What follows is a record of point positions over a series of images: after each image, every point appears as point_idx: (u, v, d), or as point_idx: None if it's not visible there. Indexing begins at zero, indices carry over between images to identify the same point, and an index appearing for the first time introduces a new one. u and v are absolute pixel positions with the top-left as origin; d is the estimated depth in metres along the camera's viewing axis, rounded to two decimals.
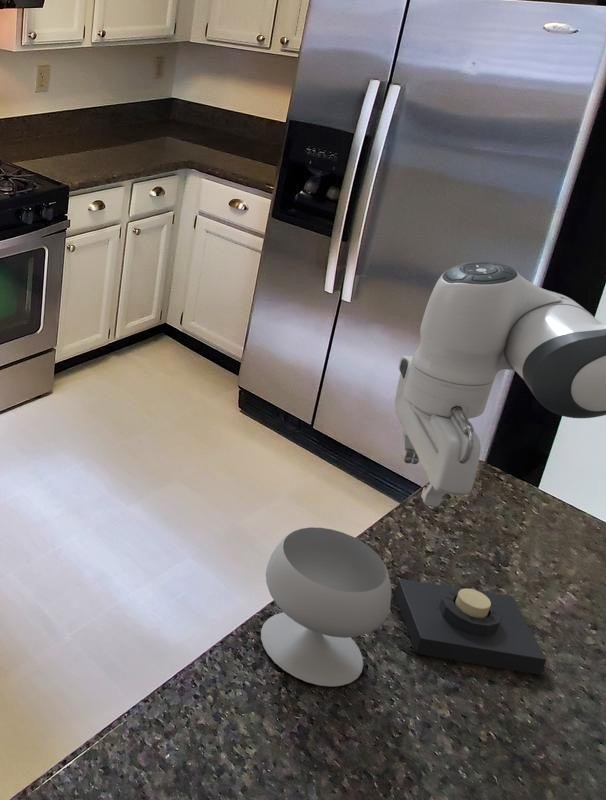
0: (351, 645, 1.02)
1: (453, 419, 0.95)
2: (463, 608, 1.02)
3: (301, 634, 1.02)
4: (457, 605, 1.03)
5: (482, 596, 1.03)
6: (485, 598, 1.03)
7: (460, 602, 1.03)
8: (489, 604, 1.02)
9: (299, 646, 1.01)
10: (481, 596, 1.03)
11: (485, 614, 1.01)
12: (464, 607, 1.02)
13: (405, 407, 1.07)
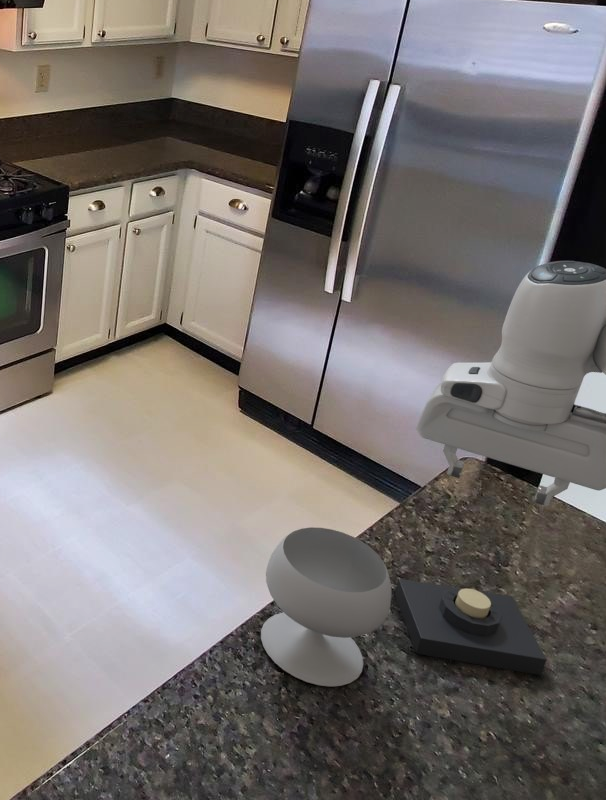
0: (351, 645, 1.02)
1: (578, 418, 0.92)
2: (463, 608, 1.02)
3: (301, 634, 1.02)
4: (457, 605, 1.03)
5: (482, 596, 1.03)
6: (485, 598, 1.03)
7: (460, 602, 1.03)
8: (489, 604, 1.02)
9: (299, 646, 1.01)
10: (481, 596, 1.03)
11: (485, 614, 1.01)
12: (464, 607, 1.02)
13: (456, 428, 1.00)
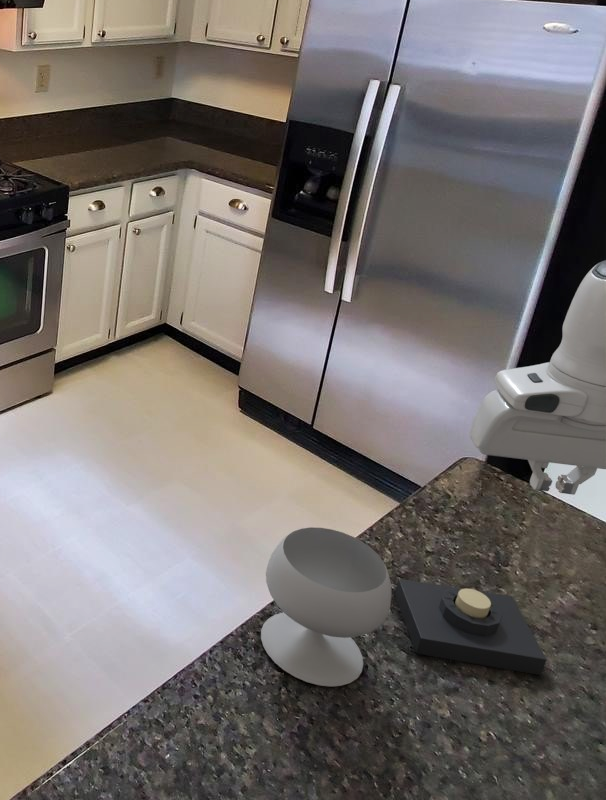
0: (351, 645, 1.02)
1: None
2: (463, 608, 1.02)
3: (301, 634, 1.02)
4: (457, 605, 1.03)
5: (482, 596, 1.03)
6: (485, 598, 1.03)
7: (460, 602, 1.03)
8: (489, 604, 1.02)
9: (299, 646, 1.01)
10: (481, 596, 1.03)
11: (485, 614, 1.01)
12: (464, 607, 1.02)
13: (521, 439, 0.95)
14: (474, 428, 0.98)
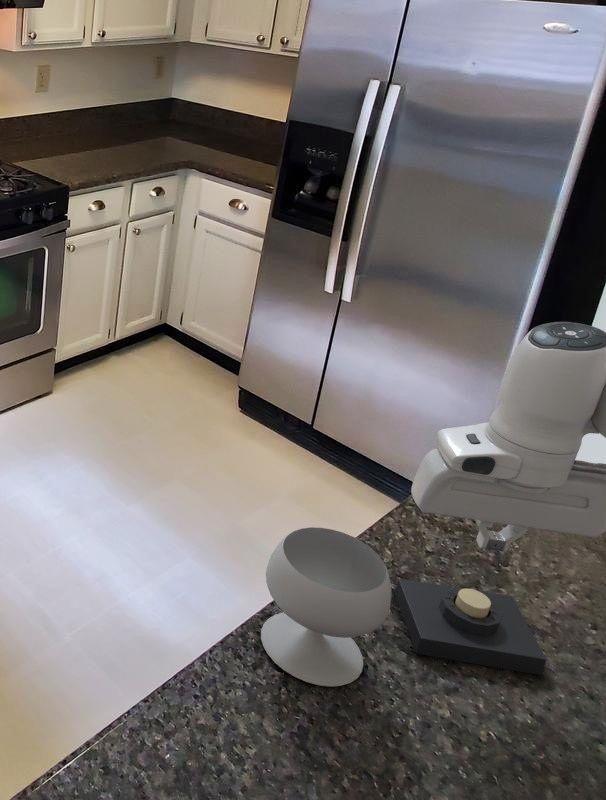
0: (351, 645, 1.02)
1: (573, 472, 0.92)
2: (463, 608, 1.02)
3: (301, 634, 1.02)
4: (457, 605, 1.03)
5: (482, 596, 1.03)
6: (485, 598, 1.03)
7: (460, 602, 1.03)
8: (489, 604, 1.02)
9: (299, 646, 1.01)
10: (481, 596, 1.03)
11: (485, 614, 1.01)
12: (464, 607, 1.02)
13: (460, 499, 0.96)
14: (415, 485, 0.99)
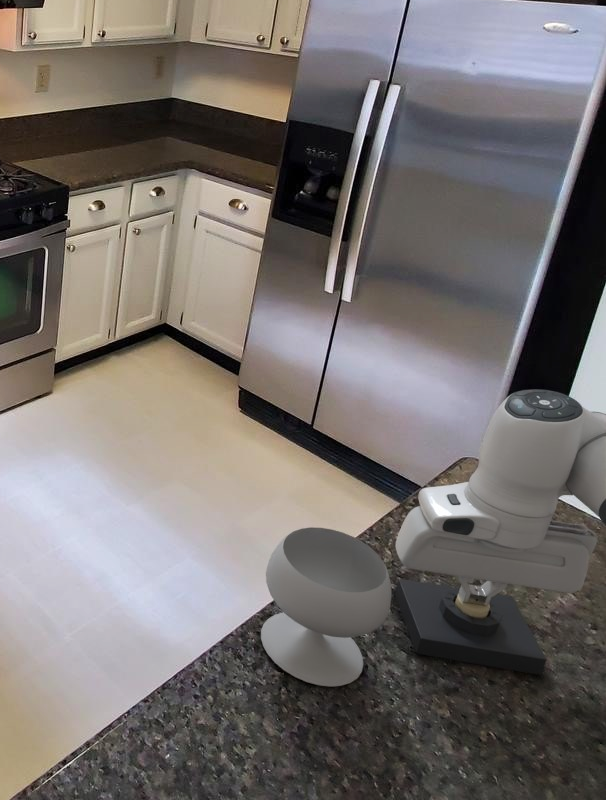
0: (351, 645, 1.02)
1: (550, 532, 0.96)
2: (462, 611, 1.02)
3: (301, 634, 1.02)
4: None
5: None
6: None
7: (459, 605, 1.03)
8: (488, 607, 1.02)
9: (299, 646, 1.01)
10: None
11: (484, 617, 1.02)
12: (463, 610, 1.02)
13: (441, 556, 0.99)
14: (399, 542, 1.03)
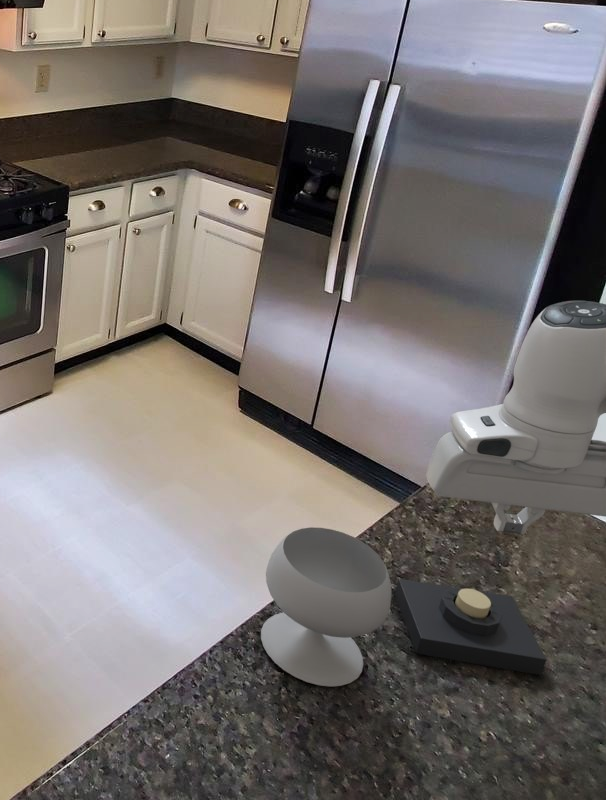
0: (351, 645, 1.02)
1: (590, 452, 0.92)
2: (463, 608, 1.02)
3: (301, 634, 1.02)
4: (457, 605, 1.03)
5: (482, 596, 1.03)
6: (485, 598, 1.03)
7: (460, 602, 1.03)
8: (489, 604, 1.02)
9: (299, 646, 1.01)
10: (481, 596, 1.03)
11: (485, 614, 1.01)
12: (464, 607, 1.02)
13: (476, 482, 0.95)
14: (430, 470, 0.98)
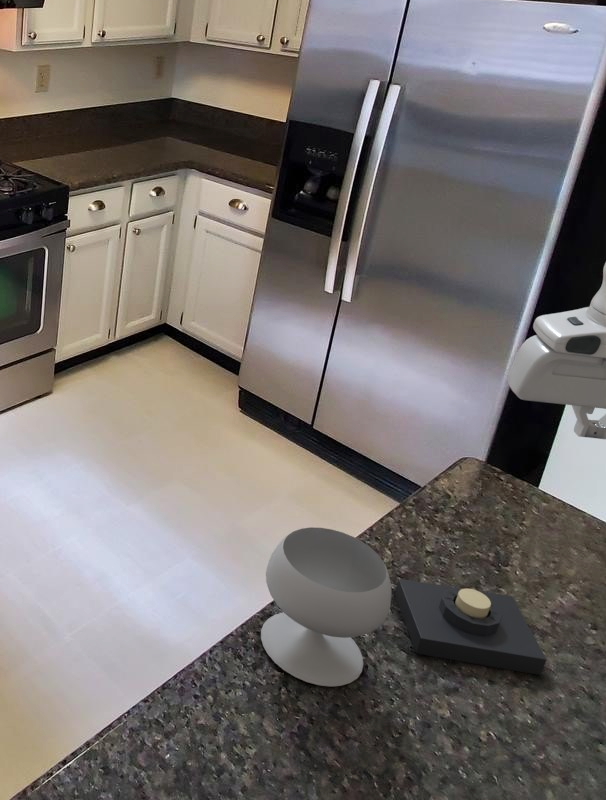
0: (351, 645, 1.02)
1: None
2: (463, 608, 1.02)
3: (301, 634, 1.02)
4: (457, 605, 1.03)
5: (482, 596, 1.03)
6: (485, 598, 1.03)
7: (460, 602, 1.03)
8: (489, 604, 1.02)
9: (299, 646, 1.01)
10: (481, 596, 1.03)
11: (485, 614, 1.01)
12: (464, 607, 1.02)
13: (561, 383, 0.95)
14: (513, 374, 0.98)
